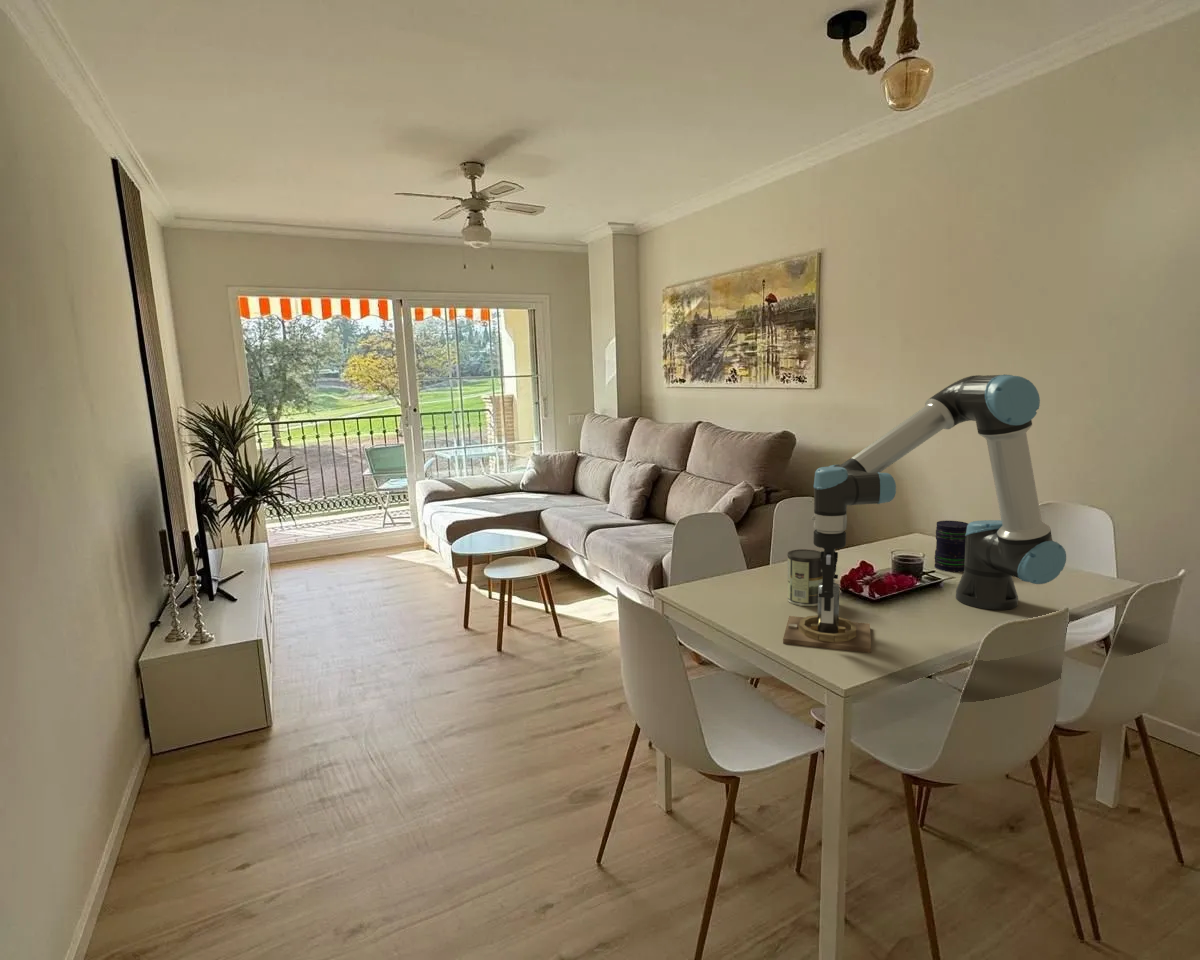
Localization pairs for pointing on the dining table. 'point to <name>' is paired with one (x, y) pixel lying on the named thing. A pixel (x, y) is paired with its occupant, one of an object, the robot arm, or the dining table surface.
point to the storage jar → (950, 546)
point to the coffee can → (804, 576)
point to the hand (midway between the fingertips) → (828, 612)
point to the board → (828, 635)
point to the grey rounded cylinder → (833, 627)
